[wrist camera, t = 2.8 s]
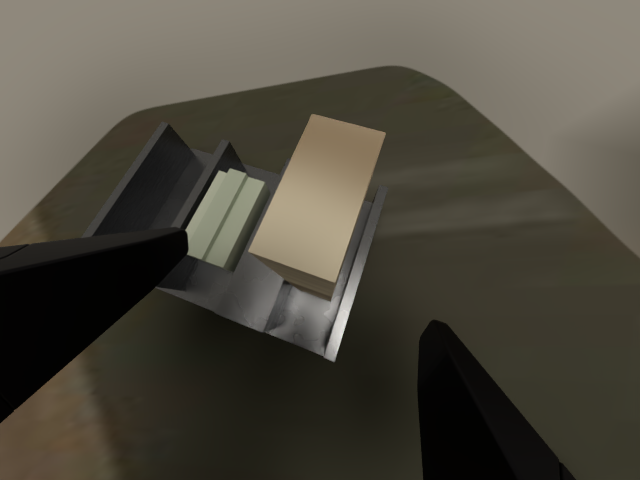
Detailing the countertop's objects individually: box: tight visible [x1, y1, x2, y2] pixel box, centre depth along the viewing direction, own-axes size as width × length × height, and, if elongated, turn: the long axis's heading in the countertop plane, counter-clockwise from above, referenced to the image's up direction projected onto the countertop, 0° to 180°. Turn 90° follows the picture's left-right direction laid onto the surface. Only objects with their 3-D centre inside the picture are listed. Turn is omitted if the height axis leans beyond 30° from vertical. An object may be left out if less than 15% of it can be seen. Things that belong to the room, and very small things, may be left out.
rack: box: [81, 122, 388, 362], centre depth 17 cm, size 12×18×4 cm
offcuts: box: [185, 169, 271, 273], centre depth 16 cm, size 6×4×4 cm, turn 160°
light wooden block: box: [248, 114, 386, 302], centre depth 12 cm, size 5×2×11 cm, turn 160°
